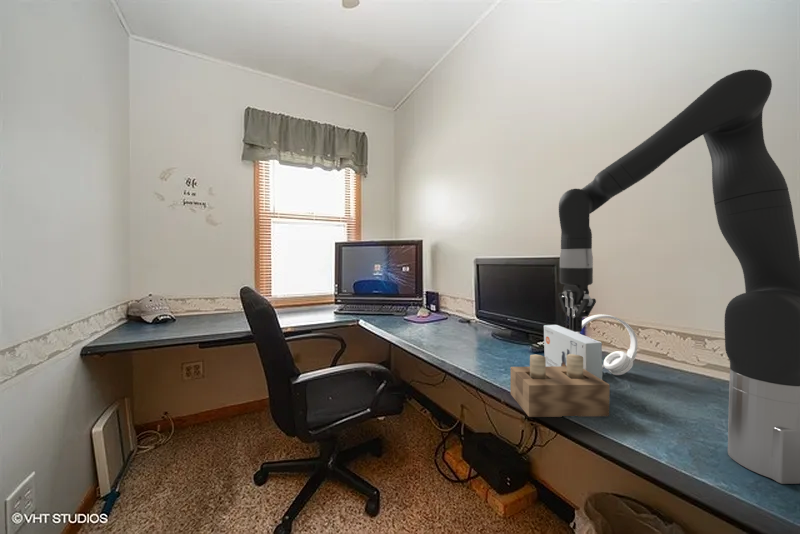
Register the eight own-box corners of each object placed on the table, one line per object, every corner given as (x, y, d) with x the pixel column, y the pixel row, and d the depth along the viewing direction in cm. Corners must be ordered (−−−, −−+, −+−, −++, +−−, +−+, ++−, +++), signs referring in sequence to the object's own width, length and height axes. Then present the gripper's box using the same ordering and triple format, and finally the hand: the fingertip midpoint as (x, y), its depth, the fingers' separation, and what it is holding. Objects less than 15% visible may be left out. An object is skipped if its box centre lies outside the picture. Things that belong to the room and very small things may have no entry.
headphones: (642, 380, 91) (643, 318, 91) (578, 376, 95) (578, 316, 94) (627, 370, 99) (628, 313, 98) (569, 367, 103) (569, 312, 102)
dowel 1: (548, 389, 75) (548, 359, 75) (533, 389, 75) (533, 359, 75) (541, 383, 79) (541, 354, 79) (527, 383, 79) (527, 354, 79)
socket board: (579, 393, 83) (579, 366, 83) (609, 416, 71) (609, 384, 71) (510, 393, 83) (510, 366, 83) (528, 416, 71) (529, 385, 71)
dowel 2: (586, 389, 75) (586, 359, 75) (571, 389, 75) (572, 359, 75) (577, 382, 79) (577, 354, 79) (563, 382, 79) (563, 354, 79)
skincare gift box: (542, 369, 101) (542, 324, 101) (557, 368, 102) (557, 324, 101) (585, 398, 80) (586, 342, 80) (603, 397, 81) (604, 341, 80)
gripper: (608, 266, 69) (607, 337, 70) (574, 265, 83) (574, 324, 83) (577, 267, 69) (576, 338, 70) (548, 265, 83) (548, 325, 83)
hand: (575, 330), depth 76 cm, fingers closed
